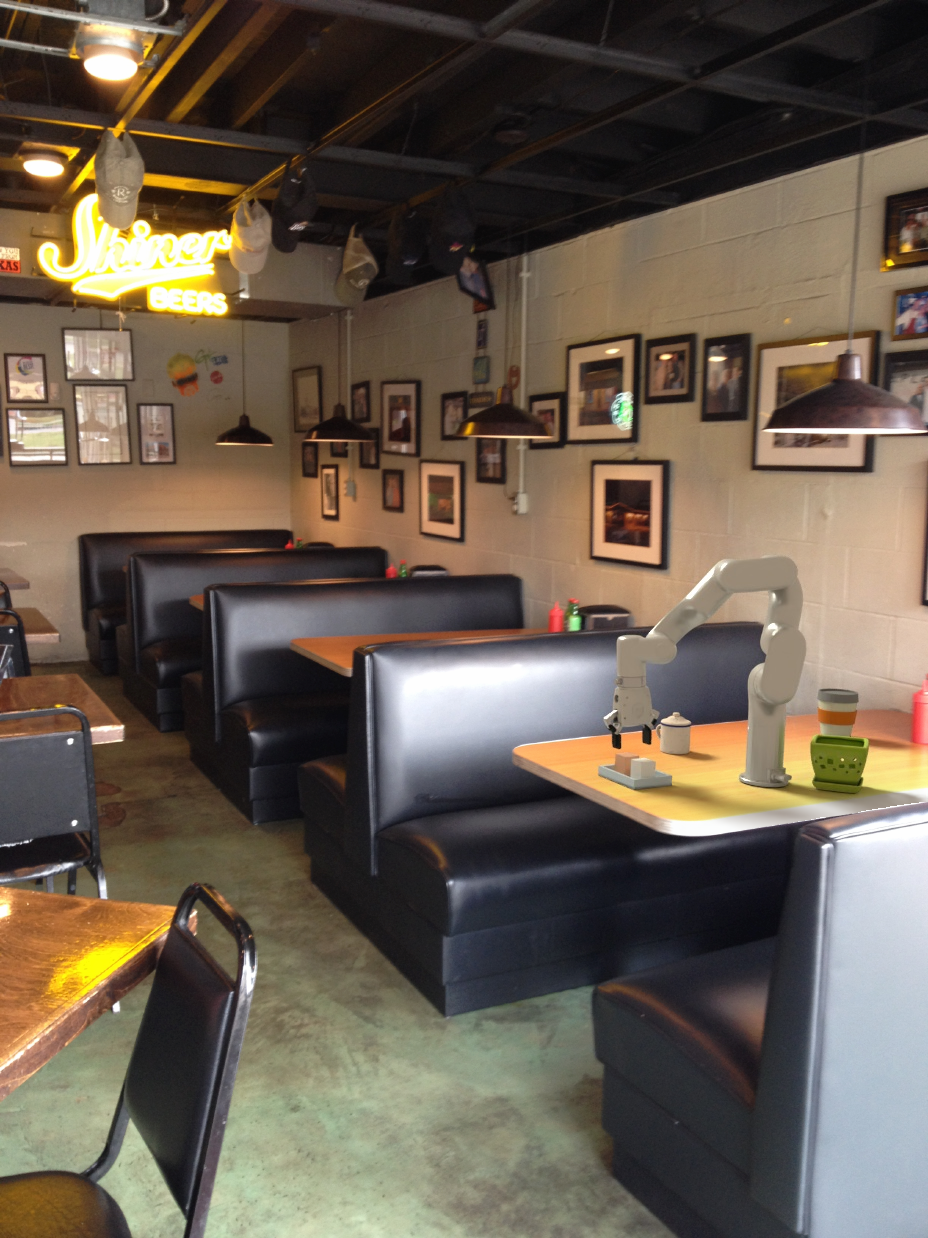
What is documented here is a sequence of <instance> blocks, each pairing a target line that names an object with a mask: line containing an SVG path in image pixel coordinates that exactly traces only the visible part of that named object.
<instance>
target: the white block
mask: <svg viewBox="0 0 928 1238" xmlns="http://www.w3.org/2000/svg"><path fill="white" fill-rule="evenodd" d="M656 765H657V764H656V761H655V760H652V759H649V758H646V757H641V758H640V757H639V759H631V775H630V777H631V778H634V779H639V778H648V777H655V769H656Z"/></svg>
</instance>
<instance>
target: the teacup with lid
mask: <svg viewBox="0 0 928 1238" xmlns="http://www.w3.org/2000/svg"><path fill="white" fill-rule="evenodd" d="M659 723H660V724H658V725H656V727H655V734H656V737H657V738H658V739H659V741H660V742H659V750H660V752H662V753H664V754H668V755H677V756H678V755H680V756H681V755H686V754H687V755H688V753H690V750H691V748H690V747H691V729H692V728H691V727H692V722H691V721H690V720H688V719H686V718H685V717H683V716H681V714H680V712H673V713H672V715H669V716H667V718H663V719H661V720H660V722H659Z"/></svg>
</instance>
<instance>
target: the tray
mask: <svg viewBox="0 0 928 1238" xmlns="http://www.w3.org/2000/svg"><path fill="white" fill-rule="evenodd" d="M597 775H598V776H599V775H600V777H601V776H602V778H604V779H606V778H607V779H606V780H608V779H609V781H611V780H612V781H611V782H613V781H614V782H613V783H615V784H618V783H619V784H618V785H620V784H621V786H623V787H625V786H626V788H627V789H631V790H632V789H633V790H632V791H636V790H647V789H652V788H653V789H654V788H662V787H670V786H671V787H672V785H673V775H671V774H669V773H666V772H664V771H661V770H658V769H656V768H655V777H648V778H639V779H634V778H631V777H629V776H626V775H624V774H621V773H619V772H616V771H615V763H611V764H602V765H598V772H597Z"/></svg>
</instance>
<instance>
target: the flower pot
mask: <svg viewBox="0 0 928 1238" xmlns="http://www.w3.org/2000/svg"><path fill="white" fill-rule="evenodd" d="M869 741H870V740H869V739H868V738H866V737H858V736H857V737H855V736H851V737H846V736H833V735H821V734H817V733H816V734H814V735H813V736H812V737H811V740H810V742H809V744H810V747H809V749H810V762H811V766H812V769H813V772H814V775H813V777H812V780H811V784H812V786H813V787H814V788H815V789H816V790H822V791H828V792H829V791H830V792H837V793H839V792H840V793H849V794H857V793H858V792H859V791H861V789H862V788H863V787H862V786H863V783H864V777H863V776H862V775H863V773H864V769H865V767H866V764H867V759H868V755H869V749H870V742H869ZM842 759H843V760H842Z"/></svg>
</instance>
